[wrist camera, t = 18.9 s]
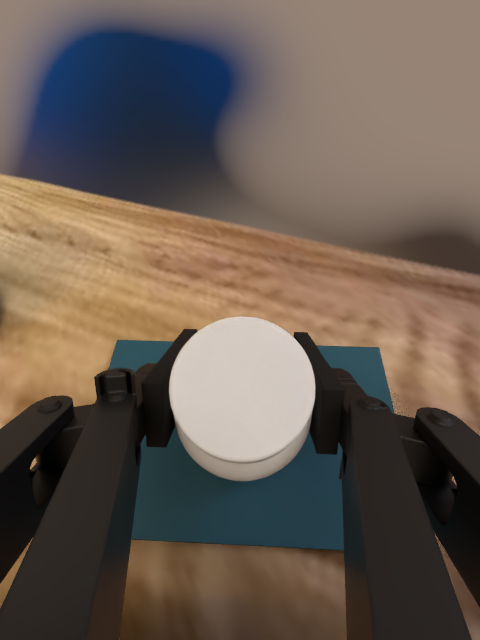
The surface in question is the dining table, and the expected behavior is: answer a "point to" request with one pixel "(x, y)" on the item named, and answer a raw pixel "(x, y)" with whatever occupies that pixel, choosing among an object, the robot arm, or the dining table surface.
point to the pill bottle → (242, 398)
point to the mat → (245, 496)
